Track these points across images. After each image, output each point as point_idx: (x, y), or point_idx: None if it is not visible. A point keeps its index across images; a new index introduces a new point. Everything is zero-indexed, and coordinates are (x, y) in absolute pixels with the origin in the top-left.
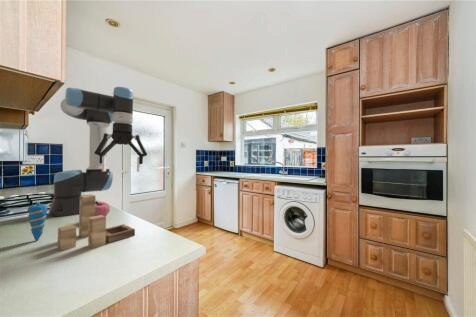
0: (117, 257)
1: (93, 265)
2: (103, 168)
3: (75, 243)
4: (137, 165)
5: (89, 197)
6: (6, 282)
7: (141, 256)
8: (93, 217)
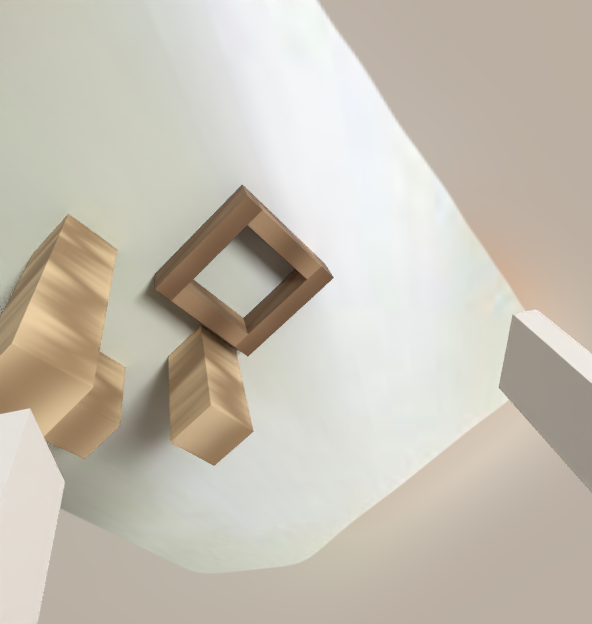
0: (318, 426)
1: (270, 463)
2: (51, 525)
3: (123, 376)
4: (562, 452)
5: (66, 407)
6: (105, 527)
7: (385, 419)
8: (193, 438)
